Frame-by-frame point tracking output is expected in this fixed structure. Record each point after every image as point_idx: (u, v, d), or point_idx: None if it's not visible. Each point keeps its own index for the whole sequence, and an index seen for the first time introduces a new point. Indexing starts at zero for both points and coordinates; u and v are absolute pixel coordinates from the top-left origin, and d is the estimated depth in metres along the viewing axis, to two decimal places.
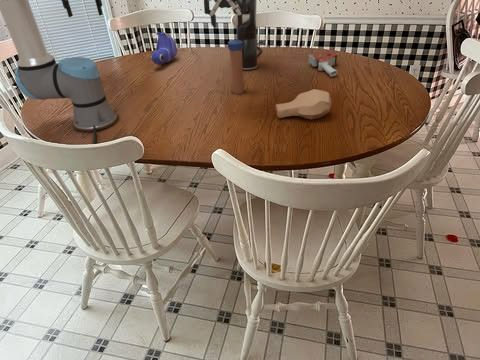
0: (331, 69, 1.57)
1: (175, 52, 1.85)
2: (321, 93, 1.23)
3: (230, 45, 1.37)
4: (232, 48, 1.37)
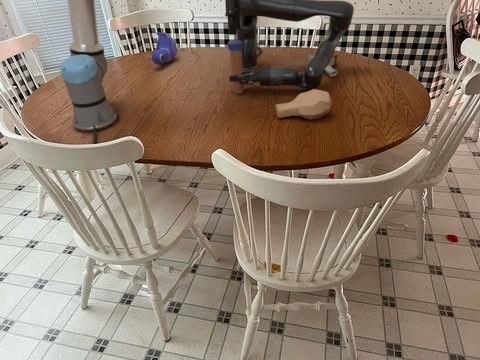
0: (331, 69, 1.57)
1: (175, 52, 1.85)
2: (321, 93, 1.23)
3: (230, 45, 1.37)
4: (232, 48, 1.37)
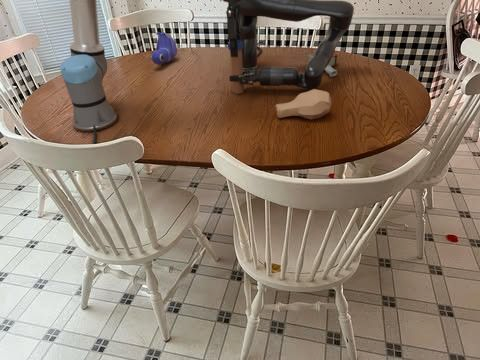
0: (331, 69, 1.57)
1: (175, 52, 1.85)
2: (321, 93, 1.23)
3: None
4: None
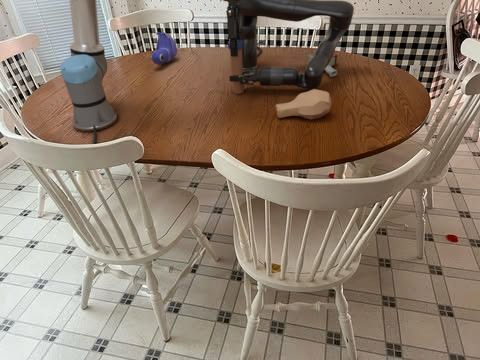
0: (331, 69, 1.57)
1: (175, 52, 1.85)
2: (321, 93, 1.23)
3: (241, 43, 1.37)
4: (242, 46, 1.39)
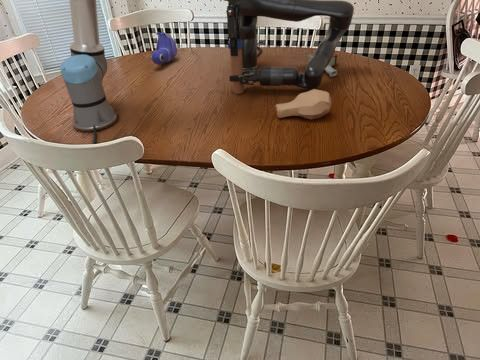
0: (331, 69, 1.57)
1: (175, 52, 1.85)
2: (321, 93, 1.23)
3: None
4: None
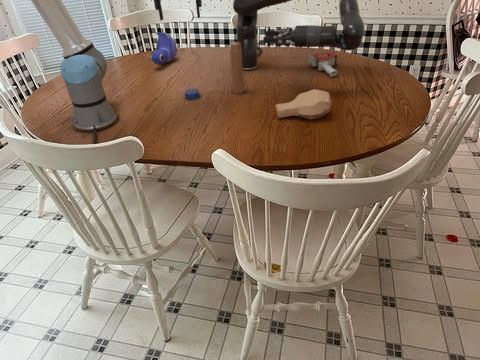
0: (331, 69, 1.57)
1: (175, 52, 1.85)
2: (321, 93, 1.23)
3: None
4: None
